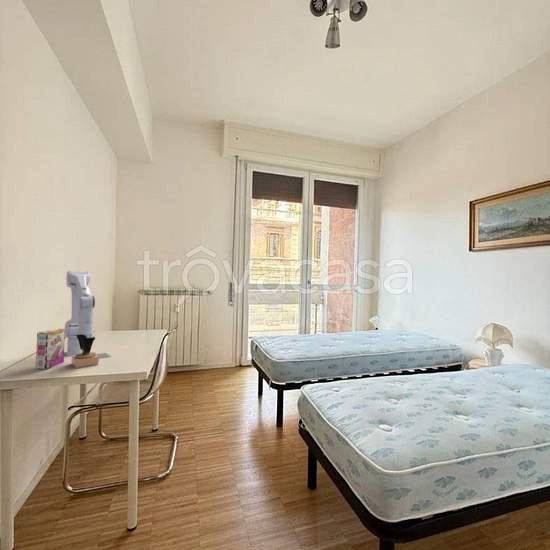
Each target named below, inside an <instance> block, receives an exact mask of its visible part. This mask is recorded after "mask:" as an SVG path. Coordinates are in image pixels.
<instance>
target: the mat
mask: <svg viewBox="0 0 550 550" xmlns="http://www.w3.org/2000/svg"><path fill="white" fill-rule="evenodd" d="M96 355H97V356H98V357H99V360H101V359H106V358H112V356H111V355H109V354H108V353H107V352H103V353H97V354H96Z"/></svg>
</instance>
